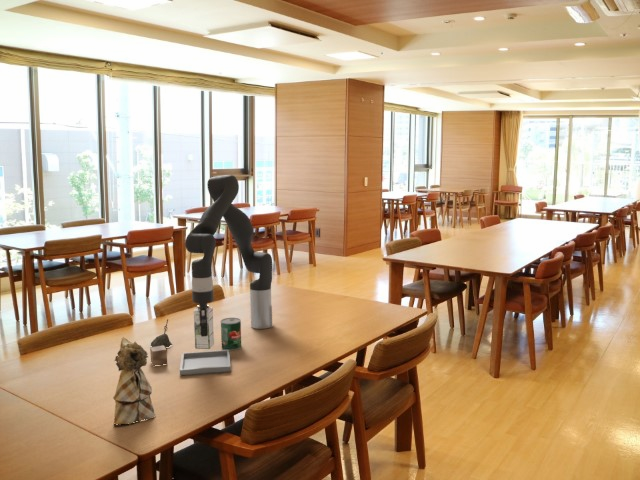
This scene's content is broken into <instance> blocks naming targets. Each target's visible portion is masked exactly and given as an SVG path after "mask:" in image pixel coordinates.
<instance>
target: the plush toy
mask: <svg viewBox="0 0 640 480" xmlns="http://www.w3.org/2000/svg"><path fill="white" fill-rule="evenodd" d="M119 347H120V348H119V350H118V352H117V355H116V356H115V359H114V360H113V361H114V362H115V361H116V363H115V365H116V367H117V368H118V372H120V374H119V378H118V382H117V385H116V389H115V393H114V395H113V397H112V398H113V400H114V402H115V406H114V418H113V419H114V422H113V424H114V423H115V424H119V425H118V426H122V425H121V424H128V423H133V422H136V421H141V420H144V419H145V420H146V419H150V418H153V417H154V416H155V415H156V413H155V410H154V407H153V403H152V399H151V394H152V393H153V389H152V388H153V387H152V386H151V384H150V382H149V380H148V379H147V376H146V375H145V373H144V370H143V369H142V367H146V366H147V363H148V361H147V358H149V356H148V352H147V350H145V349H144V348H143V346H142V345H141V344H138V343H137V342H136V341H134V342H131V341H130V340H128V339H127V338H125V337H124V336H122V338H121V341H120V345H119ZM155 417H156V416H155ZM155 417H154V418H155ZM154 418H153V419H154ZM150 420H151V419H150Z"/></svg>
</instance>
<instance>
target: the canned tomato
mask: <svg viewBox="0 0 640 480" xmlns="http://www.w3.org/2000/svg"><path fill="white" fill-rule="evenodd" d="M241 323H242V321H241V318H239V317H226V318H223V319H221V320H220V331H221V332H220V334H221V335H220V336H221V339H220V340H221V349H222V350H229V351H236V350H237V351H238V350H239V349H241V348H242V325H241Z"/></svg>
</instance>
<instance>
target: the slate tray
mask: <svg viewBox="0 0 640 480" xmlns="http://www.w3.org/2000/svg"><path fill="white" fill-rule="evenodd" d="M230 354H231V353H230V350H224V349H222V350H206V351H194V352H193V351H191V352H181V356H180V357H181V359H180V365H179V376H180V375H189V376H200V375H213V374H226V373H231V372H232V369H231V368H232V367H231V357H230Z"/></svg>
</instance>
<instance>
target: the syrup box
mask: <svg viewBox="0 0 640 480" xmlns="http://www.w3.org/2000/svg"><path fill="white" fill-rule="evenodd" d="M213 307H214V306H209V310H207V318H208V319H207V323H208V325H207V336H203V337H202V336H201V327H200V320H199V314H200V313H199V311H198V306H196V308H194V310H193V327H194V328H193V330H194V347H195V349H198V350H210V349H212V348H213V346H214V345H215V337H214V336H215V335H214V334H215V333H214V309H213ZM202 323H206V320H202Z"/></svg>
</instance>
